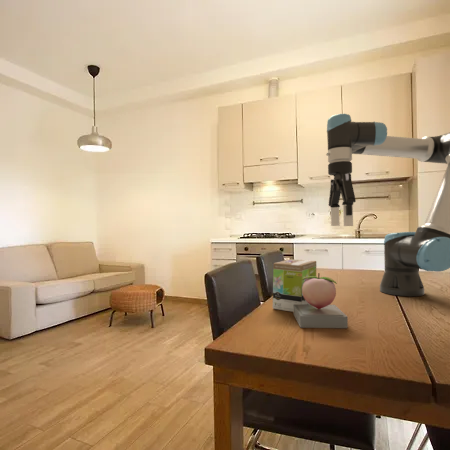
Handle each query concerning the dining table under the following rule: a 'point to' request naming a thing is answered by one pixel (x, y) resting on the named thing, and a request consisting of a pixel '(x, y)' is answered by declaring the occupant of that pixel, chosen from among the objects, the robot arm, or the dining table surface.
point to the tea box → (290, 282)
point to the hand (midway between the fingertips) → (341, 226)
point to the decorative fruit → (319, 291)
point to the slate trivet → (320, 316)
